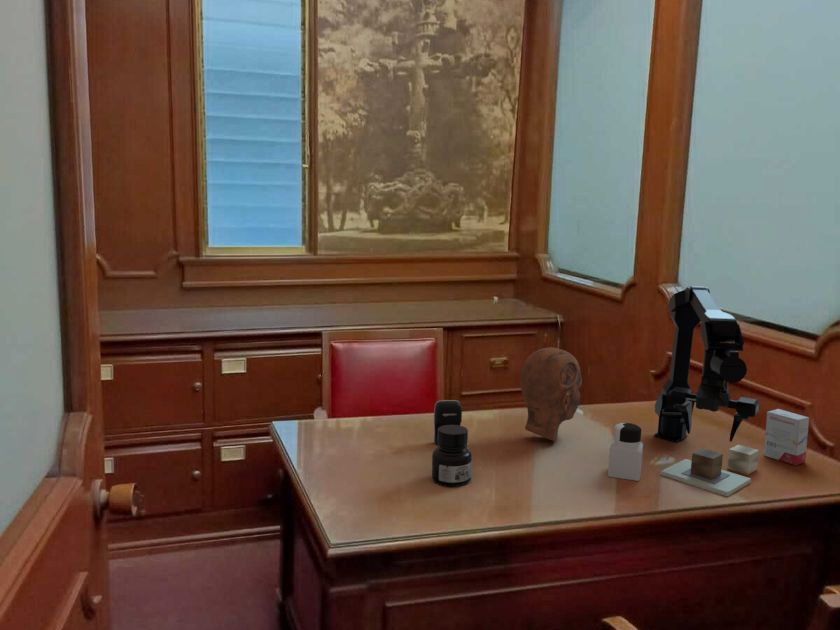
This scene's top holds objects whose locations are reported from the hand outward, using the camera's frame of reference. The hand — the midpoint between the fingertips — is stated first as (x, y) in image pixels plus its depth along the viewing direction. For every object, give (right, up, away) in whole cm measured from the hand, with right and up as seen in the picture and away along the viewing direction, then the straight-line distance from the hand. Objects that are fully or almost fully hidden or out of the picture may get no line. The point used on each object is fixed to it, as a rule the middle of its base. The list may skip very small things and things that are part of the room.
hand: (709, 437), depth 171 cm
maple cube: (+11, -9, +9) cm, 17 cm away
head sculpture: (-32, -5, +27) cm, 42 cm away
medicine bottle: (-19, -10, +4) cm, 21 cm away
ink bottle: (-60, -10, -2) cm, 61 cm away
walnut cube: (0, -9, +2) cm, 9 cm away
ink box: (+25, -8, +16) cm, 31 cm away
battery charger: (-60, -5, +21) cm, 64 cm away
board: (0, -10, +2) cm, 10 cm away
